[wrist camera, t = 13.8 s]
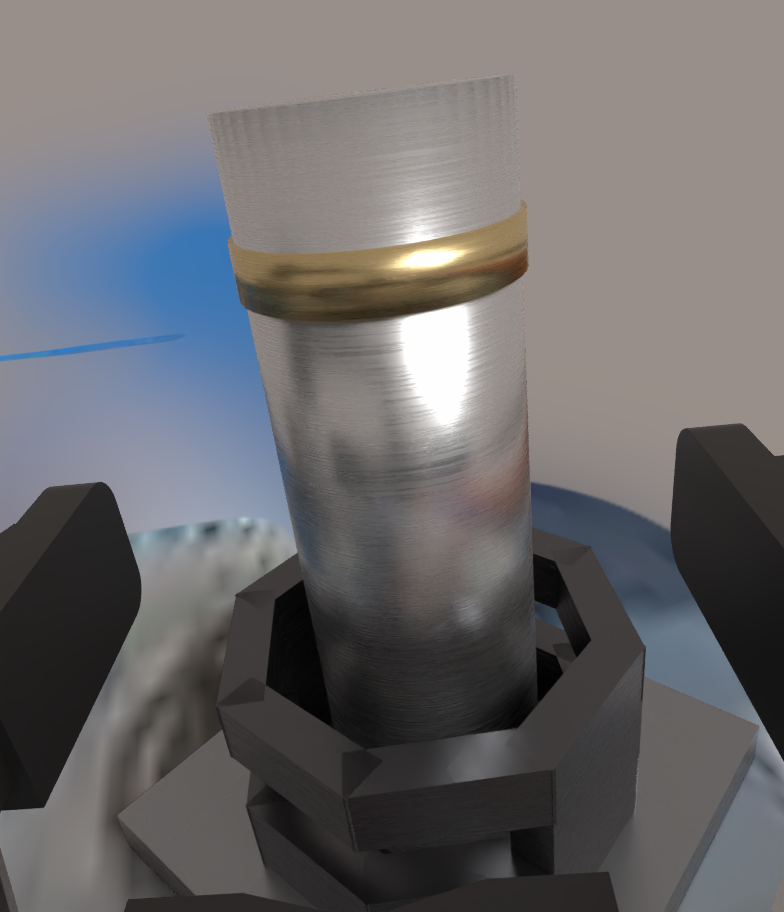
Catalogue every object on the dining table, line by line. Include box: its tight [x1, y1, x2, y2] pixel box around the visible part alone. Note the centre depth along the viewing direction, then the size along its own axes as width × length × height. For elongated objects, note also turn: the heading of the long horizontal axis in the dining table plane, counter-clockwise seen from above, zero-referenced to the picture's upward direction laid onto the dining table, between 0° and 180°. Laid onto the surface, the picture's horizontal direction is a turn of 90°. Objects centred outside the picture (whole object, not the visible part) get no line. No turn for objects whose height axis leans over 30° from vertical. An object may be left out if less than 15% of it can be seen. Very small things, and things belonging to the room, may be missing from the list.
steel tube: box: [207, 74, 538, 853], centre depth 16 cm, size 5×5×16 cm
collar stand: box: [117, 528, 759, 912], centre depth 19 cm, size 12×12×6 cm
